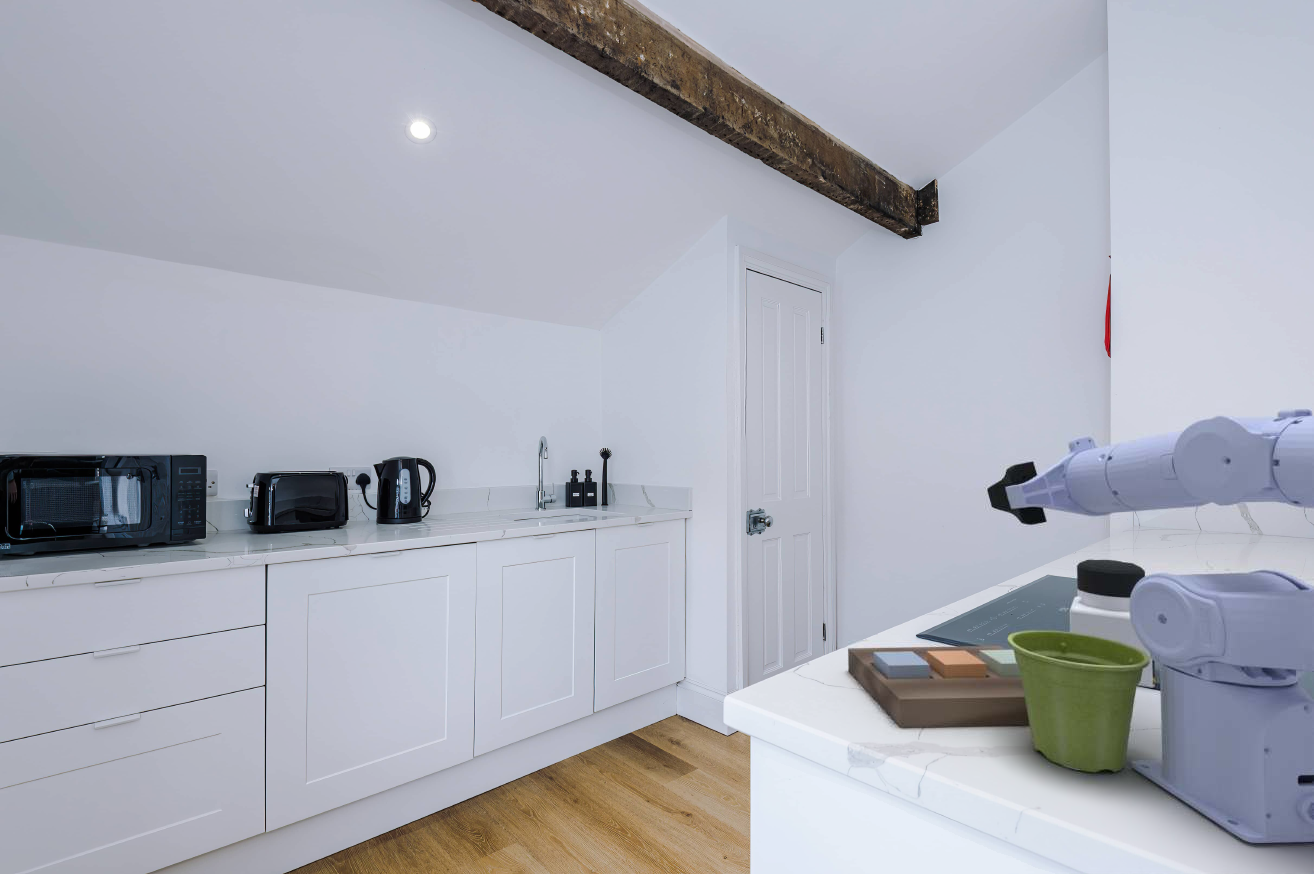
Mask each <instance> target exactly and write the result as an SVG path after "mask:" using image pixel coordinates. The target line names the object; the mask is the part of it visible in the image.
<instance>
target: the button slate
mask: <svg viewBox="0 0 1314 874" xmlns="http://www.w3.org/2000/svg"><path fill="white" fill-rule="evenodd" d="M874 667H875V668H876V669H877V670H878V671H879V672H880V673H881V674H882V675H883V676H884V677H885V678H886V679H930V665H929V664H928V663H927V662H925V661H924V660H923V659H921V658H920V657H919V656H918V655H916V654H915V653H914V652H912V651H905V652H874Z"/></svg>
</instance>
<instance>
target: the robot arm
mask: <svg viewBox="0 0 1314 874" xmlns="http://www.w3.org/2000/svg"><path fill="white" fill-rule="evenodd" d="M1068 449H1069V453H1068V454H1067V455H1065V456H1064V457H1062V458H1061V459H1059V460H1058V461H1056V462H1055V463H1053V464H1052V465H1050V466H1049V467H1048V468H1046V469H1044V470H1043V471H1042V472H1040V473H1037V470H1036V466H1035V463H1034V461H1032V460H1031V461H1027V462H1023V463H1017V464H1016V463H1015V464H1013V465H1011V466H1009V467H1008V468H1006V470H1005V474H1004V476H1003V478H1001V480H999V481H997V482H995V483H994V484H992V485H990V486H989V487H987V489H986V490H987V495H988V498H989V503H990V505H991V508H993V509H994V510H998V511H1001V512H1005V513H1009V514H1011V515H1013V516H1014V517H1016V519H1017V520H1019V522H1020V523H1021V524H1023V525H1027V526H1033V525H1039V524H1043V523H1047V522H1048V521H1047V518H1046V513H1045V509H1048V510H1054V511H1060V512H1066V513H1070V514H1071V513H1072V514H1076V515H1077V514H1078V515H1083V516H1088V517H1102V516H1108V515H1112V514H1114V513H1115V514H1116V513H1128V512H1130V513H1131V512H1142V511H1154V510H1157V511H1158V510H1170V509H1183V508H1195V507H1197V508H1198V507H1203V506H1205V505H1208V504H1211V503H1213V504H1215V505H1218V506H1220V507H1222V506H1226V507H1227V506H1233V505H1238V504H1241V503H1281V504H1287V505H1290V506H1294V507H1297V508H1304V509H1305V508H1306V509H1307V508H1308V509H1314V415H1313V411H1312V410H1311V409H1308V408H1306V409H1305V408H1293V409H1289V408H1288V409H1280V410H1279V411H1278V412H1277V416H1275V417H1274V416H1273V417H1270V416H1269V417H1263V416H1262V417H1234V416H1228V415H1223V414H1222V415H1217V416H1214V417H1211V418H1206V419H1201V420H1199V421H1196V422H1194V423H1192V424H1191V425H1188V427H1186V428H1185V429H1184V430H1183V431H1181V430H1180V431H1174V432H1167V433H1164V434H1158V435H1154V436H1149V437H1144V438H1143V437H1142V438H1139V439H1133V440H1129V441H1125V442H1119V443H1115V444H1110V445H1105V446H1100V447H1097V445H1096V442H1095V440H1094V438H1093V437H1091V436H1084V437H1079V438H1078V437H1077V438H1074V439H1071V440H1069V442H1068ZM1129 613H1130V619H1131V622H1132V626H1133V628H1134V630H1135V633H1136V635H1137V636H1138V638H1139V640H1140V641H1141V643H1142V644H1143V645H1144V647H1145V648H1146V649H1147V650H1148V651H1149V652H1150V658H1151V659H1152V660H1154V661H1155V662H1157V663H1159V679H1160V680H1159V682H1160V716H1161V717H1160V720H1161V723H1160V724H1161V725H1160V727H1161V757H1162V759H1135V760H1134V759H1133V760H1131V768H1133V769H1134V770H1135V771H1137V772H1139V773H1140V774H1141V775H1143V776H1144V777H1146V778H1147V779H1149V780H1151V781H1152V782H1154V783H1155V784H1157V785H1158V786H1160V787H1162V788H1163V789H1164V790H1165V791H1168V792H1169V793H1171V794H1172V795H1174V796H1175V797H1177V798H1179V800H1182V801H1183V802H1185V803H1186V804H1188V805H1189V806H1191V807H1192V808H1193V809H1195V810H1197V811H1198V812H1199V813H1201V814H1202V815H1204V816H1206V817H1207V818H1209V819H1210V820H1212V821H1214V822H1215V823H1217V824H1218V825H1219V826H1221V827H1223V828H1224V829H1225V830H1227V831H1228V832H1230V833H1232V834H1233V835H1235V836H1236V837H1238V838H1240V839H1241V840H1243V841H1244V842H1248V843H1250V844H1252V843H1253V844H1271V843H1276V844H1277V843H1280V844H1281V843H1312V842H1314V698H1313V697H1312V696H1311V695H1310V694H1308V693H1307V692H1306V691H1305V689H1304V688H1303V687H1302V686H1301V684H1300V683H1299V681H1298V680H1299V678H1301V677H1305V676H1307V671H1309V672H1314V585H1312V584H1309V583H1307V582H1305V581H1303V580H1302V579H1300V578H1297V577H1295V576H1294V575H1292V574H1290V573H1287V572H1284V571H1280V570H1275V569H1261V570H1254V571H1249V572H1231V573H1230V572H1229V573H1226V572H1225V573H1201V574H1197V573H1196V574H1192V573H1191V574H1173V573H1172V574H1171V573H1168V572H1158V573H1157V572H1156V573H1151V574H1149V575H1145V577H1144V578H1142V579H1141V580H1140V581H1139V582H1137V584H1136V585H1135V587H1134V588H1133V591H1132V593H1131V596H1130V602H1129Z"/></svg>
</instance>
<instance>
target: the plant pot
mask: <svg viewBox="0 0 1314 874" xmlns="http://www.w3.org/2000/svg"><path fill="white" fill-rule="evenodd" d="M1007 643H1008V646H1009V647H1011V648H1012V650H1014V654H1015V660H1016V662H1017V664H1018V665H1019V668H1020V673H1021V678H1022V684H1023V689H1024V695H1025V701H1026V707H1027V713H1028V719H1029V725H1028V726H1029V729H1030V736H1031V743H1032V747H1033V748H1034V749H1035V751H1036V752H1037V751H1038V752H1039V751H1040V752H1041V753H1042V754H1043V755H1044V757H1046V758H1047V759H1048V760H1049V761H1051V762H1054V763H1055V764H1058V765H1061V766H1064V767H1068V768H1071V769H1074V770H1078V771H1082V772H1087V773H1088V772H1089V773H1098V772H1100V771H1102V770H1110V771H1111V772H1114V773H1116V772H1119V771H1120V770H1123V768H1124V767H1125V765H1126V759H1127V752H1128V751H1127V750H1128V746H1129V744H1128V743H1129V738H1130V737H1129V736H1130V731H1131V723H1132V718H1133V712H1134V706H1135V705H1134V704H1135V699H1136V692H1137V686H1138V685H1137V684H1139V683H1140V681H1141V676H1142V671H1143V668H1146V667H1147V666H1148V665H1149V663H1150V658H1149V656H1148V655H1147V654H1146V653H1145V652H1143V651H1141V650H1139V649H1137V648H1135V647H1132V646H1130V645H1127V644H1124V643H1121V642H1117V641H1113V640H1109V639H1105V638H1101V637H1096V636H1091V635H1085V634H1079V633H1072V632H1070V631H1063V630H1045V629H1043V630H1038V629H1037V630H1036V629H1035V630H1034V629H1033V630H1032V629H1031V630H1022V631H1016V632H1013V633H1011V634H1009V635H1008V637H1007Z"/></svg>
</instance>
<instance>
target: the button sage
mask: <svg viewBox="0 0 1314 874" xmlns="http://www.w3.org/2000/svg"><path fill="white" fill-rule="evenodd" d="M979 655H980V660H981V661H982V662H984V663H986V668H987V669H988V670H990V671H992V672H993V673H995V674H996V675H998V676H999V677H1021V673H1020V668H1019V665H1018V664H1017V662H1016V660H1015V654H1014V650H1013V649H1007V650H979Z"/></svg>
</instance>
